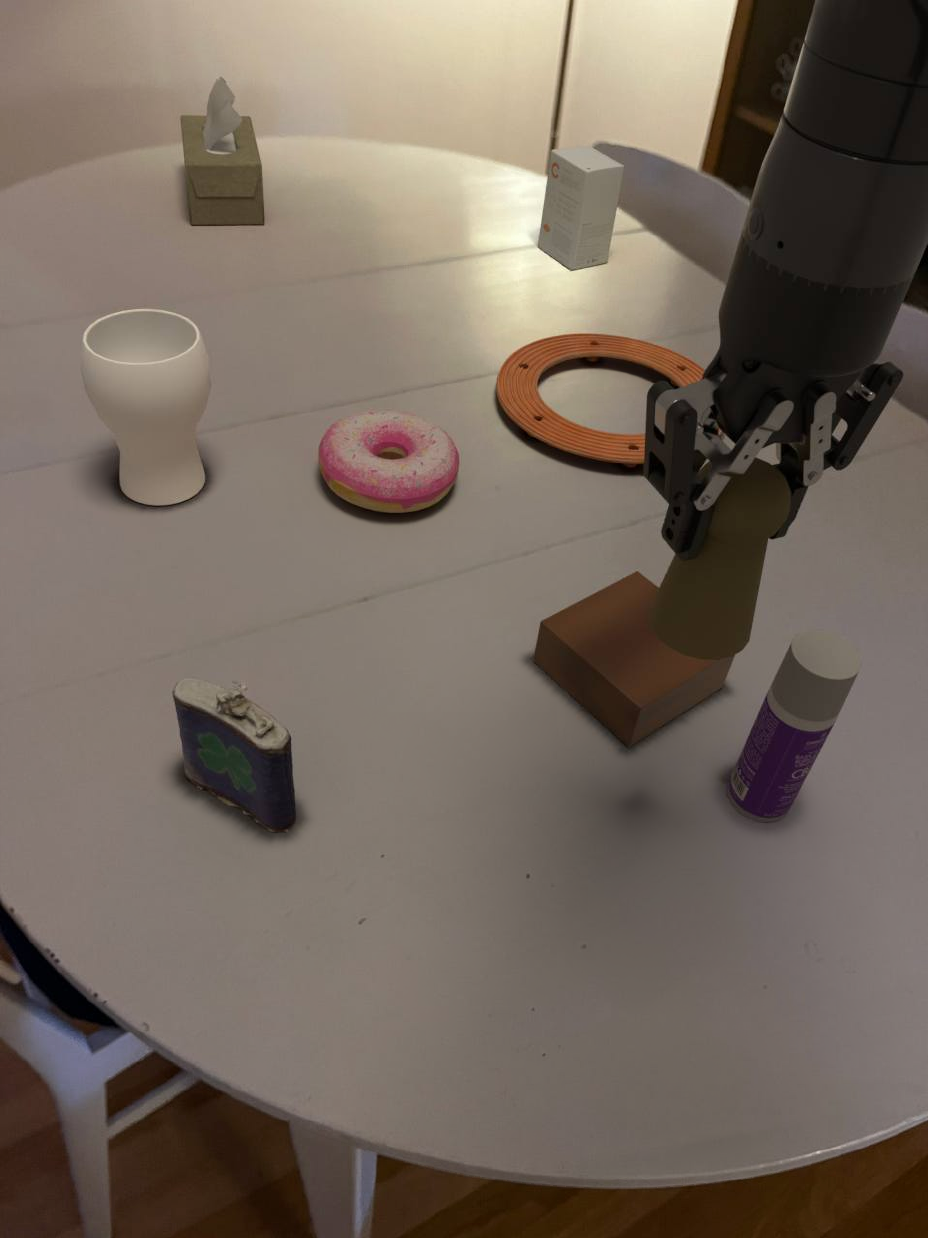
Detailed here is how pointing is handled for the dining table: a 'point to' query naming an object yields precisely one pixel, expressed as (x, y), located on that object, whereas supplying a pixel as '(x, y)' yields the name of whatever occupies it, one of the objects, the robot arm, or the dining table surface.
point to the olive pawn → (723, 568)
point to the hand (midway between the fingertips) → (724, 538)
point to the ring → (538, 356)
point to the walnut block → (623, 661)
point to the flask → (236, 751)
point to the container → (793, 724)
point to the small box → (580, 206)
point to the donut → (388, 461)
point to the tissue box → (222, 164)
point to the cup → (150, 399)
